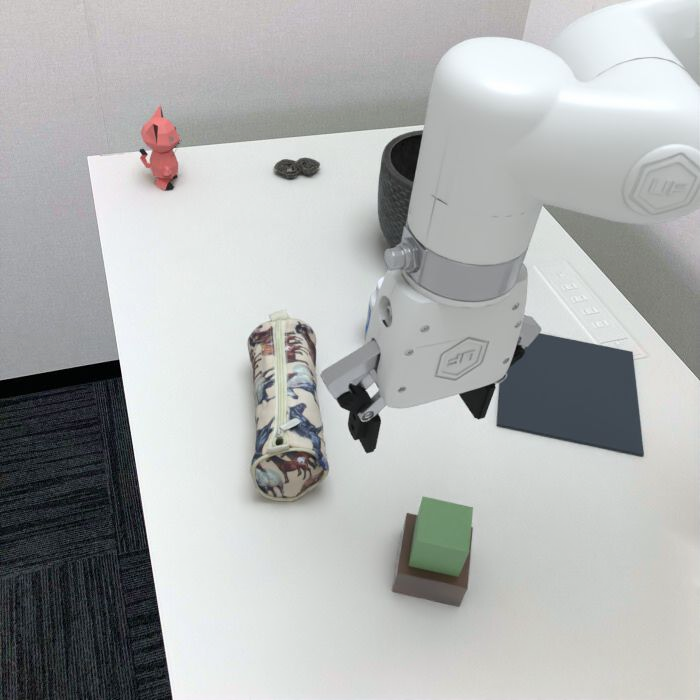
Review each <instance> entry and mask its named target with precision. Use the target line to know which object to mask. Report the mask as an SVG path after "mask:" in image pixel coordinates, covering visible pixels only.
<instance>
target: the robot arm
mask: <svg viewBox="0 0 700 700" xmlns="http://www.w3.org/2000/svg"><path fill="white" fill-rule="evenodd" d="M436 65H437V66H436V68H435V70H434V73H433V77H432V81H431V86H430V91H429V97H428V103H427V107H426V113H425V119H424V123H423V129H422V130H423V135H422V140H421V146H420V151H419V157H418V162H417V168H416V173H415V178H414V183H413V189H412V194H411V199H410V204H409V210H408V216H407V222H406V226H404V229H403V235H402V240H401V243H400V244H398V245H396V247H395V248H392V247H390V248H386V249H385V250H384V254H383V255H384V256H383V257H384V264H385V266H386V268H387V271H386V273H385V274H384V276H385V277H384V276H383V277H384V280H383V282H382V285H381V287H380V290H379V293H378V295H377V298H376V301H375V304H374V308H373V311H372V314H371V318H370V322H369V326H368V330H367V335H366V340H365V339H364V340H365V341H364V345H362V346H361V347H359V348H357V349H356V350H354V351H353V352H351V353H349V354H348V355H345V356H344V357H342V358H341V359H339V360H338V361H336V362H335V363H333V364H331V365H330V366H328V367H326V368H324V369H323V370H322V371H321V372H320V379H321V380H322V382H323V384H324V386H325V388H326V390H327V391H328V393H330V395H331V396H332V397H333V399H334V400H335V401H336V402H337V404H338V405H339V407H340V408H341V409H343V410H346V411H348V412H349V413H348V420H347V427H348V431H349V434H350V436H351V437H352V439H353V440H354V441H359V443H360V445H361V446H362V448H363V450H364V452H365V453H366V454H370V453H373V452H375V450H376V449H377V444H378V439H379V436H380V435H379V434H380V430H381V424H382V419H381V416H380V415H379V413H380V412H381V411H382V410H383V409H384V408H385V407H386V406H387V407H388V408H391V409H401V410H402V409H409V408H413V407H417V406H421V405H425V404H428V403H432V402H435V401H439V400H443V399H446V398H451V397H453V396H457V395H459V397H460V399H461V400H462V401H463V403H464V404H465V406H466V407H467V409H468V411H469V412H470V413H471V415H472V416H473V418H474V419H477V420H482V419H485V418H486V415H487V413H488V410H489V407H490V404H491V401H492V399H493V397H494V393H495V391H496V388H497V386H496V384H497V385H498V384H500V383H501V382H502V381H504V380H505V379H506V377H507V373H506V372H507V370H508V368H510V367H511V366H512V365H513V364H514V363H516V362H517V361H518V360H519V359H521V358H522V357H523V355H524V354H525V350H524V348H525V347H528V346H529V345H530V344H531V343H532V341H533V340H534V339H535V338H536V337H537V336H538V334H539V333H541V332H542V327H541V326H540V325H539V323H538V322H537V321H536V320H535V319H534V317H532V316H530V315H526V314H525V311H526V307H527V306H526V305H527V296H528V277H529V276H528V275H529V274H528V269H527V267H526V265H525V263H524V261H525V259H526V255H527V252H528V249H529V247H530V244H531V241H532V238H533V235H534V232H535V230H536V226H537V223H538V221H539V218H540V214H541V211H542V208H543V206H544V205H547V206H551V207H555V208H560V209H563V210H567V211H572V212H575V213H579V214H583V215H586V216H589V217H595V218H597V219H602V220H606V221H611V222H615V223H623V224H630V225H658V224H664V223H665V224H666V223H668V222H673V221H676V220H679V219H682V218H684V217H687V216H689V215H690V214H693V213H694V212H696V211H698V210H699V209H700V0H628V1H627V0H626V1H623V2H619V3H615V4H612V5H608V6H605V7H602V8H599V9H597V10H594V11H592V12H590V13H587V14H585V15H583V16H581V17H579V18H578V19H575V21H573V22H571V23H570V24H569V25H568V26H566V27H565V28H564V29H563V30H561V31H560V32H559V33H558V34H557V35H556V36H555V37H554V38H553V39H552V41H551V42H550V43H549V44H548V46H547V48H545V47H543V46H540V45H538V44H535V43H532V42H528V41H525V40H521V39H516V38H511V37H503V36H480V37H479V36H478V37H473V38H469V39H465V40H463V41H461V42H459V43H457V44H455V45H453V46H451V47H450V48H449V49H448V50H447V51H446V52H445V53H444V54H443V55H442V56H441V58H440V60H439V61H438V63H437V64H436ZM374 383H375V385H376V388H378V390H377V392H376V393H375V394H373V396H370V394H369V392H368V391H367V390H369V388H370V387H371V386H372V385H373V384H374Z"/></svg>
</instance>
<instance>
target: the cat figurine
mask: <svg viewBox="0 0 700 700" xmlns="http://www.w3.org/2000/svg"><path fill="white" fill-rule="evenodd" d="M140 135H141V138H142V142H144V144H145V145H146V147H148V148H150V149H151V155H150V156H149V162H148V160H147V157H148V155H149V154H148V152H147V151H146V150H145V149H144V148H139V151H138V152H139V153H140V154H141V155H140V157H139V159H140V161H141V163H142V164H143V165H144V167H145V169H150V171H151V174H152V176H153V177H155V178H156V180H155V182H154V185H155V186H156V187H157V188H158V189H161V190H163V191H173V190H174V189H175V186H174V184H173V183H172V181H173V180H175V179H177V178H178V174H179V162H178V159H177V156H176V154H175V153H176V151H177V149H178V148H179V145H180V144H181V143H182V140H183V139H181V138H180V134H178V132H177V126H176V125H175V126H174V124H173V122H172V121H170V120H169V119H167V118H166V117H164V114H163V109H162V104H159V106H158V107H157V109H156V110H155V112H154V114H153V115H152V116H151V117H150V119H149V120H148V121H147V122H146V123H144V124H143V126H142V128H141V131H140ZM174 149H175V150H174Z"/></svg>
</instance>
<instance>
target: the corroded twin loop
mask: <svg viewBox="0 0 700 700" xmlns="http://www.w3.org/2000/svg"><path fill="white" fill-rule="evenodd" d="M305 166H307V167H305ZM320 166H321V163H320V162H319V161H318V160H316V159H314V158H311V157H300V158H298V159H297V160H294V159H288V158H284V159H281V160H279V161H277V162H275V164H274V166H273V169H274V170H275V172H276V173H277V174H278V175H280V176H283V177H285V178H288V179H292V178H296V177H297V176H298V175H299V174H301V175H305V176H312V175H314V174H316V172H317V171H318V170H319V169H320ZM290 167H291V168H293V169H294V170H290Z"/></svg>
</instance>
